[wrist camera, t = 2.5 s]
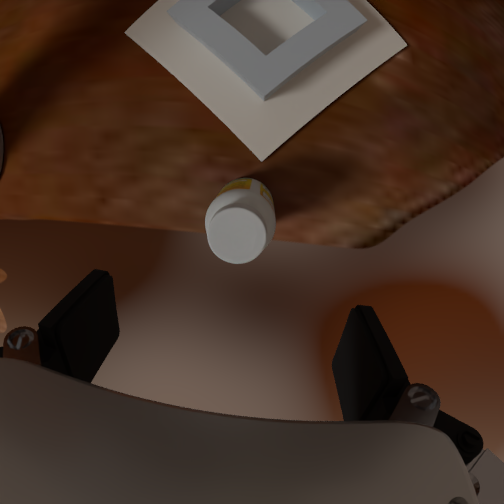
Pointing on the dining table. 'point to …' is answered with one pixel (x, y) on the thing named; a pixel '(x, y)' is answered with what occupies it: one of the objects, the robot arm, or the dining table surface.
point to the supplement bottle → (240, 221)
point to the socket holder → (266, 57)
